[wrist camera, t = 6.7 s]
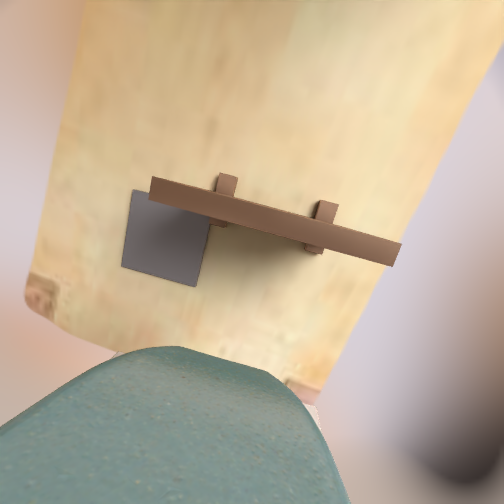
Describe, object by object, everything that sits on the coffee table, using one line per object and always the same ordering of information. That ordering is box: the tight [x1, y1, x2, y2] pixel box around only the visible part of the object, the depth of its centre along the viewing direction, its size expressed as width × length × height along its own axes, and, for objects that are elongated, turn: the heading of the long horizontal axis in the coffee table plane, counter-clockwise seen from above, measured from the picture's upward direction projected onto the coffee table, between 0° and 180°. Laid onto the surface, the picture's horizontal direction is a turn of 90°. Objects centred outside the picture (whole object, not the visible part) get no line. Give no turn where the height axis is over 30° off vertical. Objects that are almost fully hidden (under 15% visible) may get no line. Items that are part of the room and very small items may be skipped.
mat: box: [121, 189, 210, 287], centre depth 30 cm, size 10×10×1 cm
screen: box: [148, 173, 401, 267], centre depth 22 cm, size 6×16×14 cm, turn 75°
